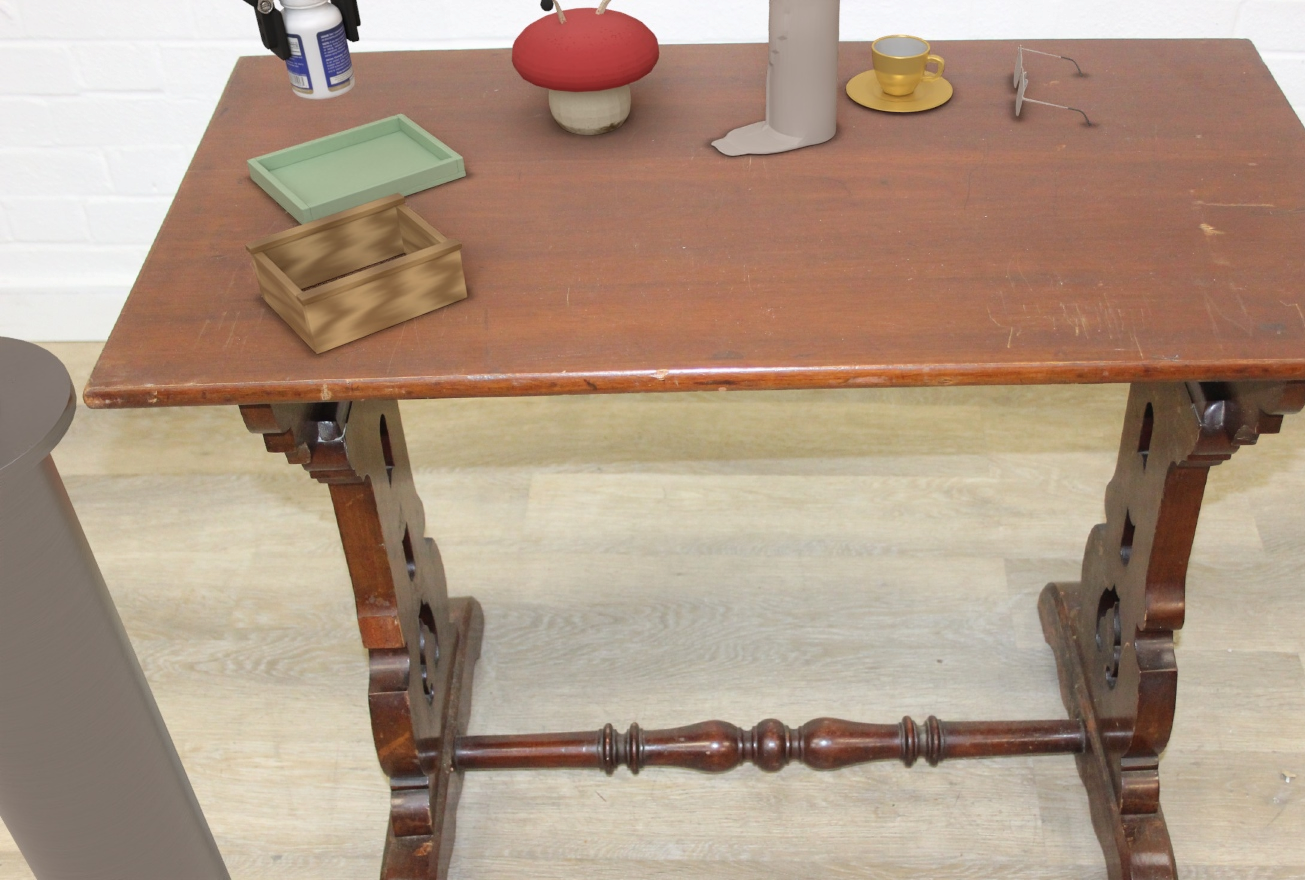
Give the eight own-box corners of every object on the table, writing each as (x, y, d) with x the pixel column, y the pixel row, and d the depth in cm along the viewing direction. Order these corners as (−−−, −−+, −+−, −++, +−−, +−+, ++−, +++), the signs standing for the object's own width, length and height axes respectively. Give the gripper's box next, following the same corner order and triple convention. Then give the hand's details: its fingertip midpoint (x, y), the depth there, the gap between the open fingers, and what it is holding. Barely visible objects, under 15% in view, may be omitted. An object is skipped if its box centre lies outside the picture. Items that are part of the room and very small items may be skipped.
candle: (702, 137, 150) (695, -53, 137) (816, 111, 155) (820, -75, 142) (731, 164, 145) (727, -31, 132) (847, 137, 150) (854, -54, 137)
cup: (833, 107, 156) (835, 60, 152) (861, 65, 164) (863, 20, 161) (939, 121, 153) (943, 73, 149) (962, 77, 161) (966, 31, 158)
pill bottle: (355, 72, 121) (334, -32, 116) (357, 97, 117) (335, -9, 112) (292, 79, 120) (268, -25, 115) (292, 104, 116) (267, -3, 111)
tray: (306, 229, 136) (301, 209, 135) (251, 178, 144) (246, 159, 143) (466, 175, 144) (463, 157, 143) (405, 130, 152) (401, 112, 151)
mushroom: (560, 166, 145) (544, 24, 136) (495, 112, 156) (477, -24, 146) (690, 128, 152) (684, -10, 142) (620, 79, 162) (610, -53, 152)
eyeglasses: (1012, 71, 162) (1019, 38, 160) (1081, 79, 162) (1089, 46, 159) (1016, 124, 152) (1023, 89, 149) (1090, 132, 151) (1098, 97, 149)
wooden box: (315, 356, 119) (301, 300, 115) (259, 298, 126) (244, 243, 123) (471, 297, 126) (462, 242, 122) (409, 245, 133) (398, 192, 130)
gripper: (348, -219, 111) (389, 8, 123) (133, -182, 103) (198, 57, 115) (390, -200, 106) (428, 34, 118) (168, -160, 99) (232, 87, 110)
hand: (314, 43), depth 116 cm, fingers closed on pill bottle, 5 cm apart
